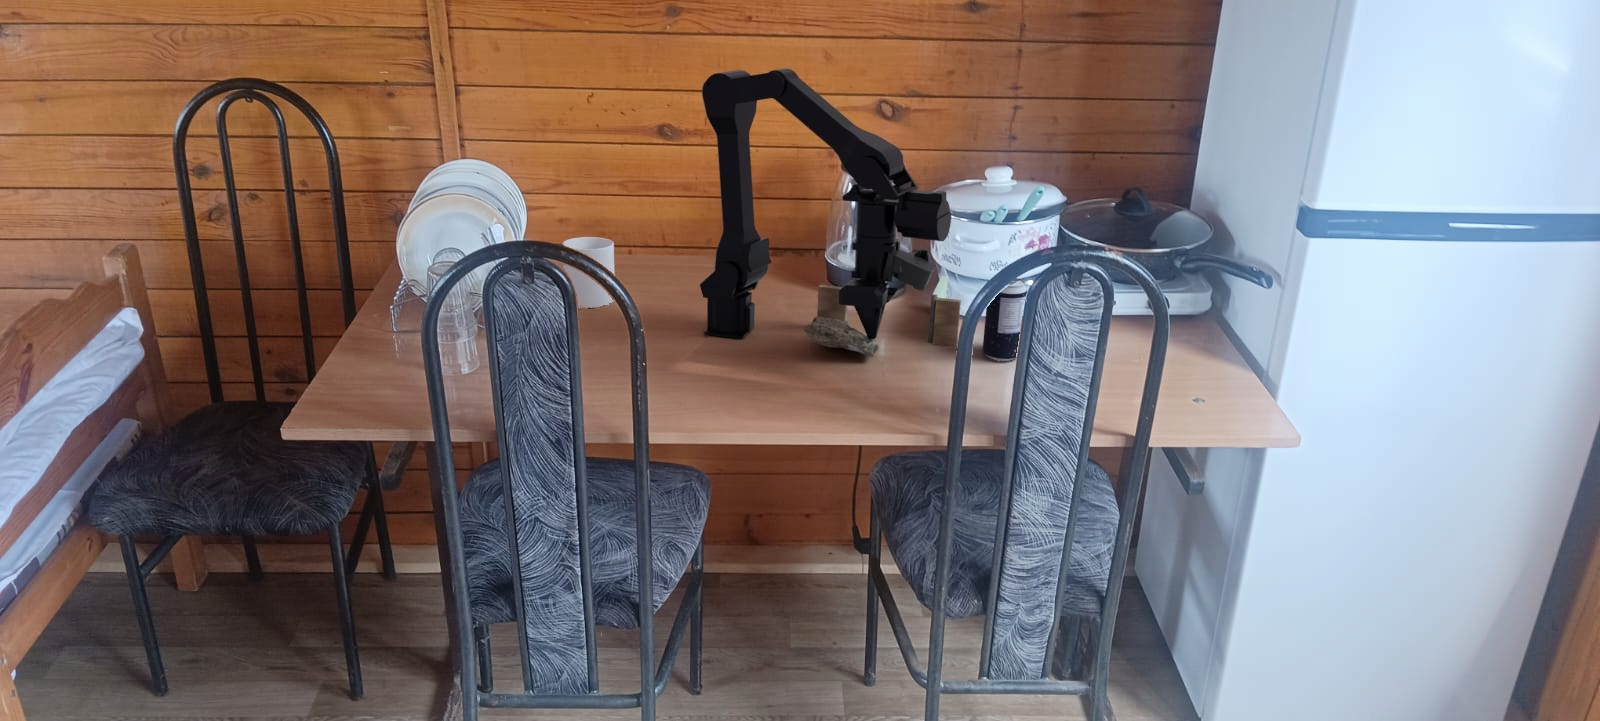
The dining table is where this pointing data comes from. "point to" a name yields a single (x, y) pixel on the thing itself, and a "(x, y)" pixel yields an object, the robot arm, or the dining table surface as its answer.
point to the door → (941, 287)
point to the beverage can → (1004, 323)
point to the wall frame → (941, 314)
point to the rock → (840, 336)
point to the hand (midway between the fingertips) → (872, 338)
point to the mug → (584, 285)
